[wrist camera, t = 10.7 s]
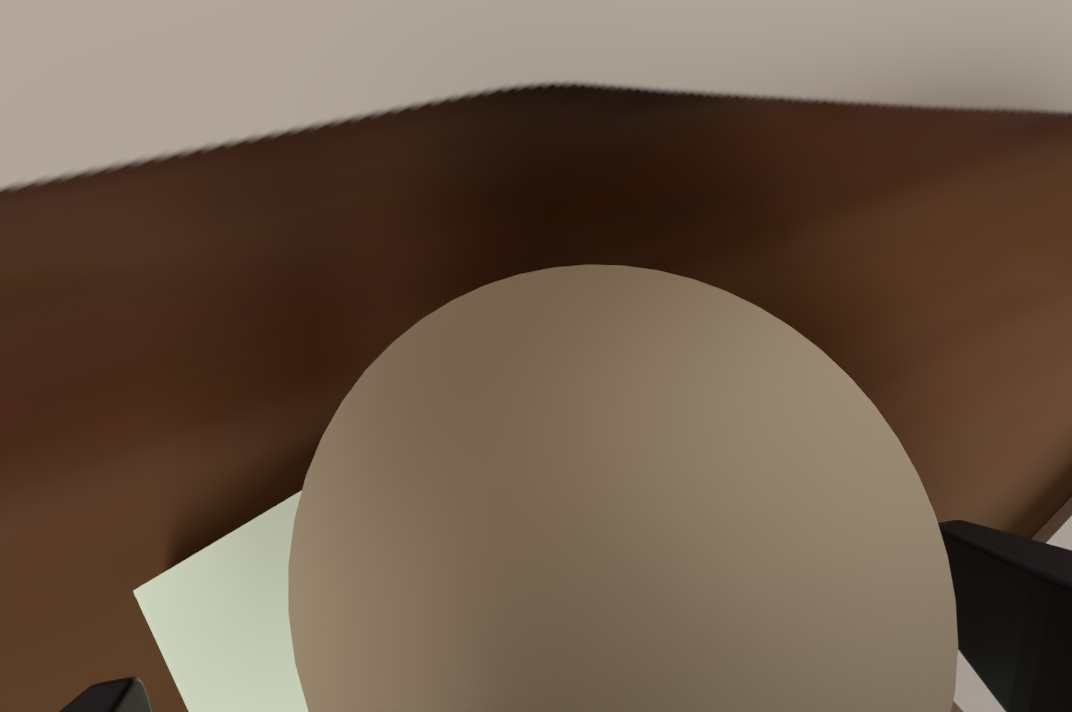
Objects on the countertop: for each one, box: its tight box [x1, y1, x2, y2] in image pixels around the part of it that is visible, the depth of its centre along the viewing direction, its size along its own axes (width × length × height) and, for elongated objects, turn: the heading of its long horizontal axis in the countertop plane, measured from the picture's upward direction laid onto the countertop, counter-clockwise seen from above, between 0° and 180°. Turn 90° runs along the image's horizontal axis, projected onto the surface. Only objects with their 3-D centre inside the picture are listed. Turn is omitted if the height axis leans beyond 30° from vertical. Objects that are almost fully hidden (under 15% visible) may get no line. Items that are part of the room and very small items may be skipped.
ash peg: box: [288, 265, 958, 712], centre depth 10 cm, size 4×4×12 cm
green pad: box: [133, 491, 308, 712], centre depth 16 cm, size 12×12×2 cm
